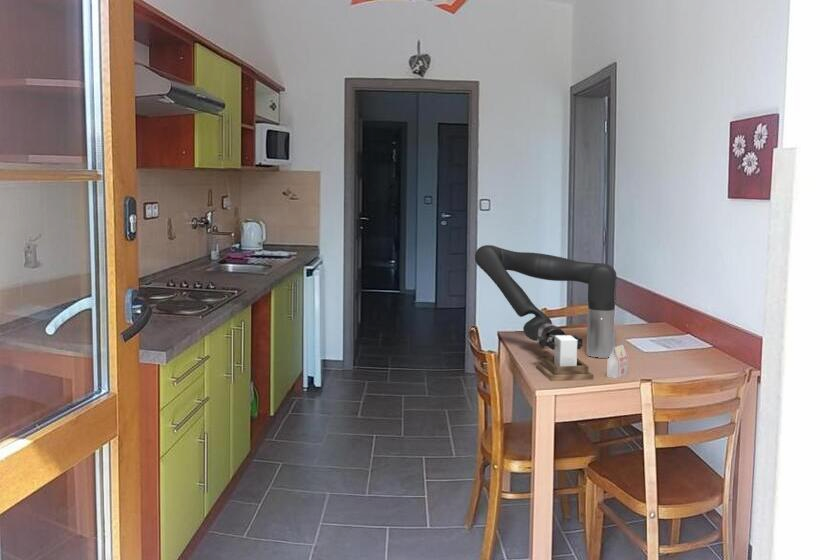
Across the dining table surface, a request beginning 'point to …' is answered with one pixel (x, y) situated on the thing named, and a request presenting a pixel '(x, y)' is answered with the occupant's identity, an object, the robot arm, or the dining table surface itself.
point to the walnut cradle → (563, 370)
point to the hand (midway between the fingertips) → (566, 346)
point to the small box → (565, 351)
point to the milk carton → (617, 362)
